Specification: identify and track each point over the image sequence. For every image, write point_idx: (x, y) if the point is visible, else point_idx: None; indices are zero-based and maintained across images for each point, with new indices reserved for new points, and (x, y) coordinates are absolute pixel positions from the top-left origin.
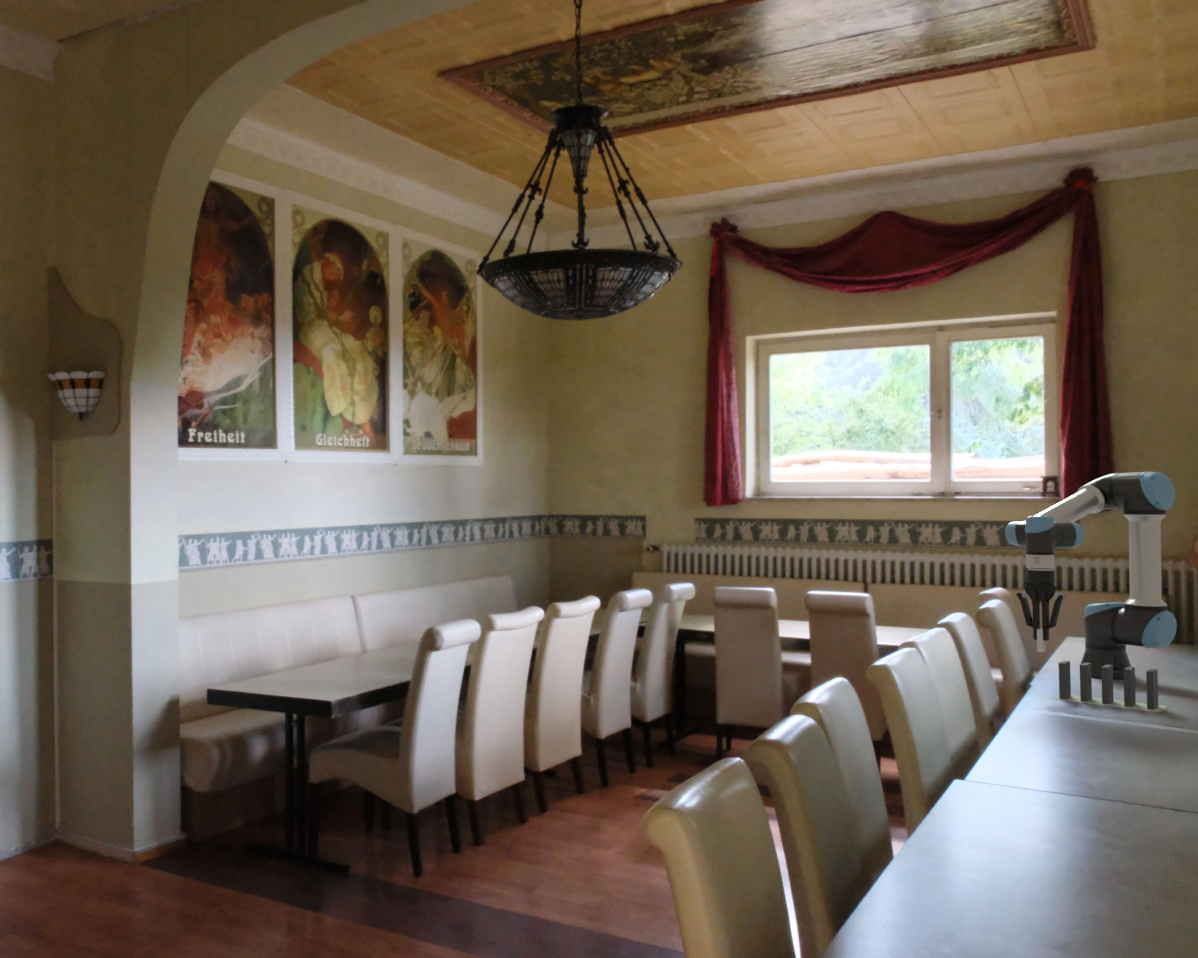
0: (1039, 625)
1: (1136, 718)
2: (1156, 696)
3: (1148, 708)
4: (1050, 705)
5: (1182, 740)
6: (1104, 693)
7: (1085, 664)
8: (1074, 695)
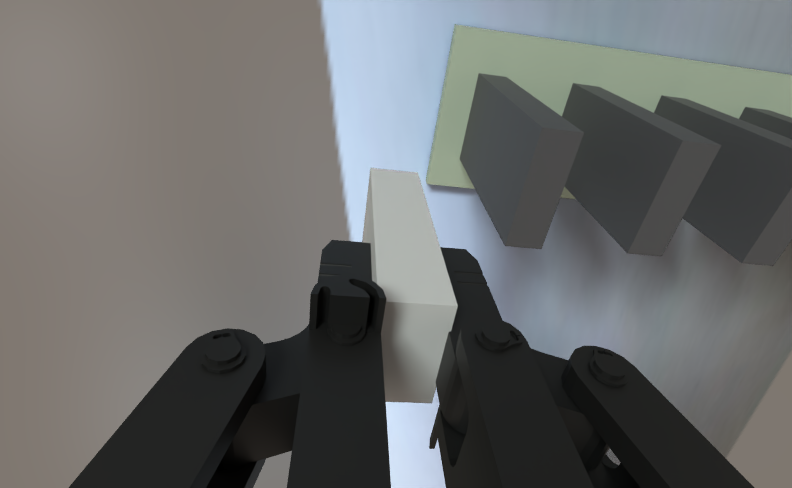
0: (379, 354)
1: (692, 297)
2: None
3: None
4: None
5: (727, 438)
6: None
7: (666, 223)
8: (523, 40)
